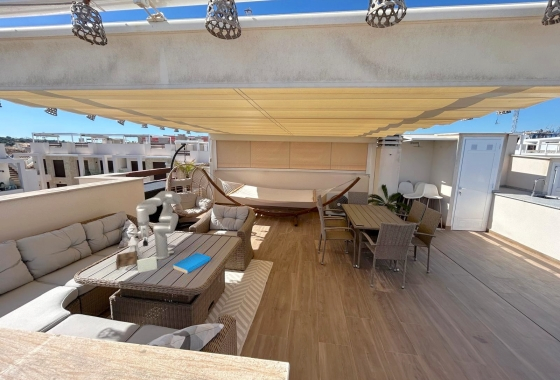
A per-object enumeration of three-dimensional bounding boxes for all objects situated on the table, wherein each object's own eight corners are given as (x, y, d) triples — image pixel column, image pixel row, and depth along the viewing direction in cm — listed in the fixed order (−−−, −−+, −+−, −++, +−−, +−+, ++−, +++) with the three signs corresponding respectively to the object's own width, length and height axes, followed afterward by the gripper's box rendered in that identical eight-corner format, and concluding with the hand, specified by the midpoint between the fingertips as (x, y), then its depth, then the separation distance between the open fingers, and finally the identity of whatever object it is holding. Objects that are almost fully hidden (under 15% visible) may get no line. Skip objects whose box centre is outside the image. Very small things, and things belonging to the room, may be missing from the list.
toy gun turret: (144, 250, 212) (142, 232, 209) (140, 257, 200) (139, 238, 196) (129, 252, 208) (127, 234, 205) (125, 258, 196) (123, 239, 192)
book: (172, 264, 181) (196, 252, 203) (173, 269, 182) (196, 256, 204) (187, 269, 174) (210, 256, 196) (188, 275, 174) (211, 260, 196)
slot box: (137, 258, 197) (136, 250, 196) (137, 265, 185) (136, 257, 184) (118, 262, 190) (117, 254, 189) (116, 269, 178) (115, 261, 177)
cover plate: (157, 267, 183) (156, 256, 181) (157, 268, 181) (156, 257, 179) (138, 271, 176) (137, 260, 174) (138, 273, 174) (137, 261, 172)
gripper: (149, 225, 166) (151, 246, 169) (148, 219, 181) (150, 238, 184) (137, 227, 162) (140, 249, 166) (137, 220, 177) (139, 240, 180)
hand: (145, 243), depth 175 cm, fingers open, 9 cm apart
